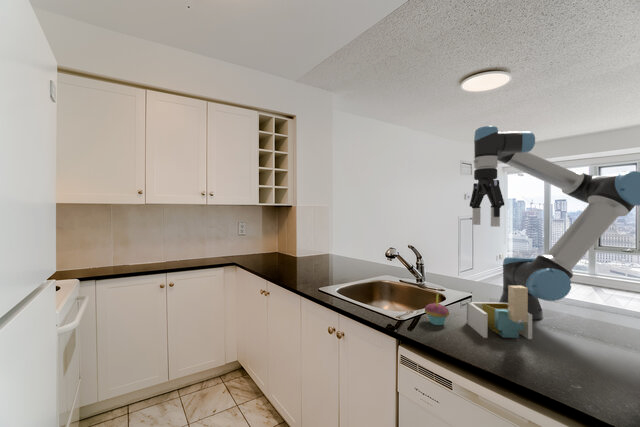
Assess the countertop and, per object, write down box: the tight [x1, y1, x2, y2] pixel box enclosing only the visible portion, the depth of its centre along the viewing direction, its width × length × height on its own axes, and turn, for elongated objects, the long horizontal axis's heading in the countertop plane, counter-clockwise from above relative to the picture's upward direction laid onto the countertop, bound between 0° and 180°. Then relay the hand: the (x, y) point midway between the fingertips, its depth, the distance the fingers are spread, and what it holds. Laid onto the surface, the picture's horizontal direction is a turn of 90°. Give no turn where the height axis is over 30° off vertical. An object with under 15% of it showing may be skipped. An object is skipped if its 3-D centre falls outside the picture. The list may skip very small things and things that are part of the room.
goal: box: [466, 301, 533, 340], centre depth 101 cm, size 15×12×8 cm
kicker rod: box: [495, 285, 528, 339], centre depth 91 cm, size 8×7×18 cm
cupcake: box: [424, 292, 450, 326], centre depth 108 cm, size 9×8×12 cm
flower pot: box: [482, 302, 508, 335], centre depth 99 cm, size 9×9×9 cm
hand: (485, 225), depth 107 cm, fingers open, 13 cm apart
